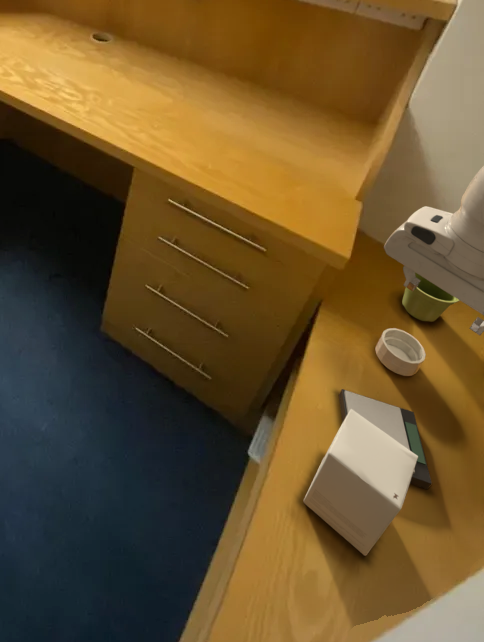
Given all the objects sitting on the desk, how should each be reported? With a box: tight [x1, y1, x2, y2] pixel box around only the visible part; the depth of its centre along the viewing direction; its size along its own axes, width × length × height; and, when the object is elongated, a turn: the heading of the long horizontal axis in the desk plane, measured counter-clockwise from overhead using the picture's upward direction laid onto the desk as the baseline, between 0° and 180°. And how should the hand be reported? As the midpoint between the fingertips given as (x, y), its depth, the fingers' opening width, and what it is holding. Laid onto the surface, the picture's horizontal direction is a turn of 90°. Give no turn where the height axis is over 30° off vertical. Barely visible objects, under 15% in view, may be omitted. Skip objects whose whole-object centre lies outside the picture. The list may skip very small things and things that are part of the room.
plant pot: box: [401, 272, 461, 323], centre depth 104 cm, size 9×9×9 cm
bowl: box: [374, 327, 427, 377], centre depth 95 cm, size 7×7×4 cm
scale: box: [338, 388, 433, 490], centre depth 84 cm, size 11×11×3 cm
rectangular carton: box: [303, 409, 418, 557], centre depth 74 cm, size 9×9×15 cm
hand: (441, 307), depth 82 cm, fingers open, 8 cm apart
